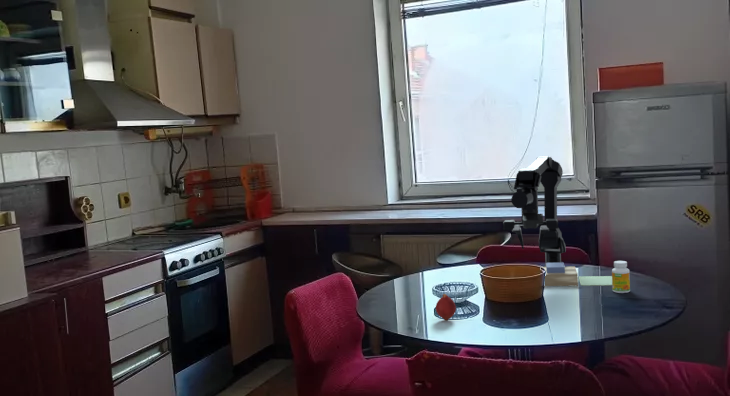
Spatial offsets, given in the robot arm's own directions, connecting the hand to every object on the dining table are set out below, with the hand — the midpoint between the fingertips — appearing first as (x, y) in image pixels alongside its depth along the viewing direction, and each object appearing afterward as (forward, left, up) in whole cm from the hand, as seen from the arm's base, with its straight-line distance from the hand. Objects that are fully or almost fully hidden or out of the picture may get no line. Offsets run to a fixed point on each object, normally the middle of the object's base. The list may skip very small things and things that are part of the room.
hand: (531, 248), depth 246 cm
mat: (0, +22, -12) cm, 25 cm away
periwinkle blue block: (0, +8, -8) cm, 11 cm away
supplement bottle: (+14, +28, -12) cm, 34 cm away
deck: (0, +9, -12) cm, 15 cm away
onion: (+48, -25, -12) cm, 56 cm away
